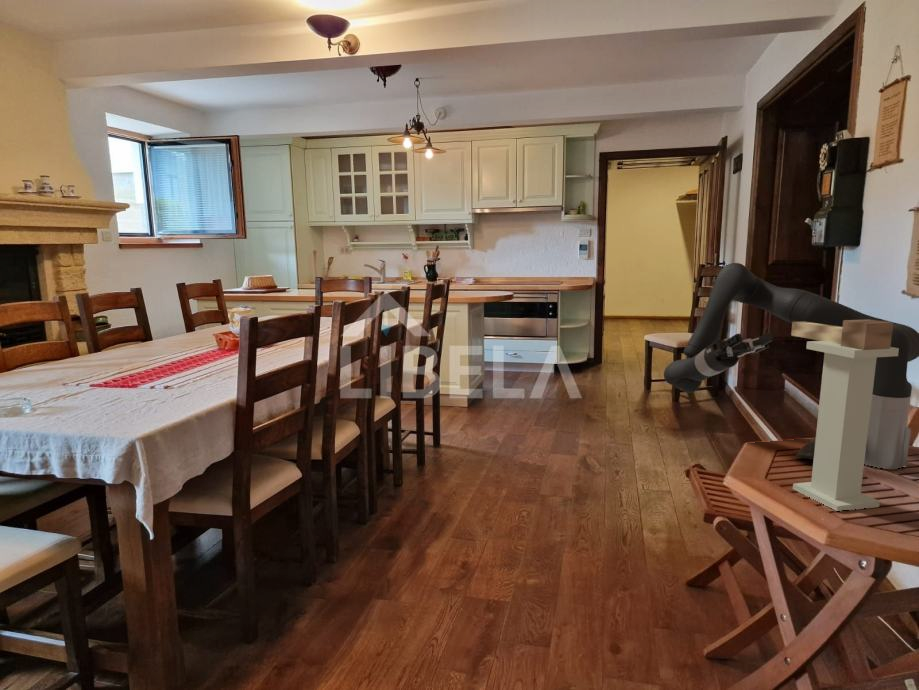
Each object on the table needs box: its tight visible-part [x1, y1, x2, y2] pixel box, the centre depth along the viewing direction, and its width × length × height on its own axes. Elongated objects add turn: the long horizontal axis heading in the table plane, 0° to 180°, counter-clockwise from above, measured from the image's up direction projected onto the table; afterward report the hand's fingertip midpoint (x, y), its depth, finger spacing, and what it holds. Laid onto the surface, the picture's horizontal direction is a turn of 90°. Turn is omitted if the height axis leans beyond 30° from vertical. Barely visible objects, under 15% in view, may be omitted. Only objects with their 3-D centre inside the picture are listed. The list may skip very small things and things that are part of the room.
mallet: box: [790, 320, 893, 350], centre depth 113 cm, size 19×6×5 cm, turn 12°
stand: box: [792, 340, 899, 512], centre depth 112 cm, size 11×10×32 cm
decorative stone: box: [795, 437, 816, 460], centre depth 138 cm, size 17×6×4 cm, turn 131°
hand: (756, 336), depth 135 cm, fingers open, 8 cm apart
